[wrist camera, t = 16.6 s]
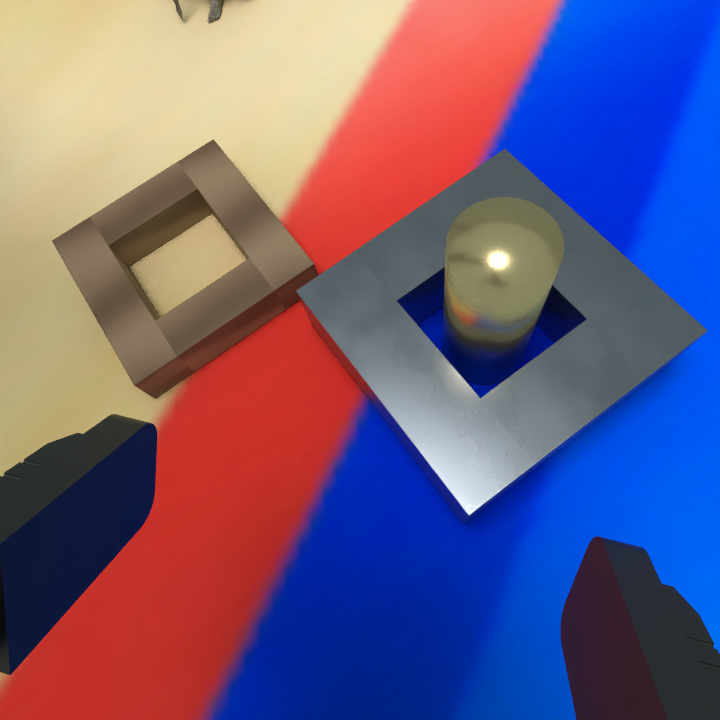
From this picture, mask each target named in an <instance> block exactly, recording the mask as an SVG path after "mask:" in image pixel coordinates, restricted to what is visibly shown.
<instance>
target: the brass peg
mask: <svg viewBox="0 0 720 720" xmlns="http://www.w3.org/2000/svg"><path fill="white" fill-rule="evenodd" d="M563 255H564V240H563V235H562V232H561V230H560V228H559V226H558V224H557V223H556V221H555V220H554V218H553V217H552V216H551V215H550V214H549V213H548V212H546V211H545V210H544V209H542V208H541V207H539V206H538V205H536V204H534V203H532V202H529V201H526V200H523V199H519V198H513V197H496V198H490V199H486V200H483V201H480V202H477V203H475V204H473V205H471V206H470V207H468V208H467V209H465V210H464V211H463V212H462V213H461V214H460V215H459V216H458V217H457V218H456V219H455V220H454V222H453V223H452V225H451V227H450V229H449V232H448V235H447V239H446V258H445V284H444V310H443V336H442V352H443V356H444V357H445V358H446V359H447V360H448V361H449V363H450V364H451V365H452V366H453V367H454V368H455V370H456V371H457V372H458V373H459V374H460V375H461V377H462V378H463V379H464V380H465V381H467V382H470V383H473V384H478V385H489V384H495V383H498V382H500V381H503V380H505V379H506V378H508V377H509V376H510V375H512V374H513V373H514V372H515V370H516V369H517V368H518V366H519V364H520V362H521V360H522V357H523V355H524V353H525V350H526V348H527V345H528V343H529V340H530V338H531V335H532V333H533V331H534V328H535V326H536V323H537V321H538V318H539V316H540V313H541V311H542V309H543V306H544V304H545V301H546V299H547V296H548V294H549V291H550V289H551V287H552V284H553V282H554V279H555V277H556V274H557V272H558V269H559V267H560V265H561V262H562V259H563Z"/></svg>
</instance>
